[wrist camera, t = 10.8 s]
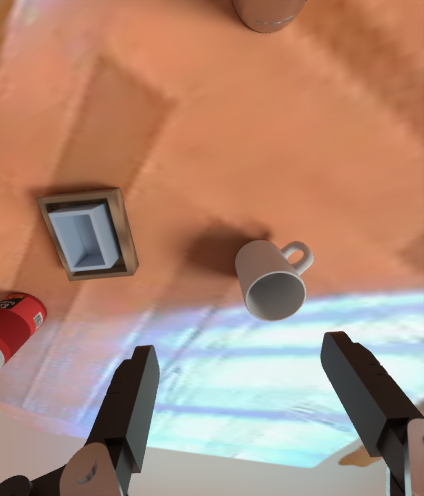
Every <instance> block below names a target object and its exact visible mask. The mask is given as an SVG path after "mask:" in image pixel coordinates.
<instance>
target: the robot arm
mask: <svg viewBox="0 0 424 496" xmlns="http://www.w3.org/2000/svg"><path fill="white" fill-rule="evenodd" d="M306 1H307V0H232V2H233V4H234V7H235V10H236V12H237V13H238V15H239V17H240V19H241V20H242V21H243V22H244V23H245V24H246V25H247V26H248V27H250V28H251V29H253V30H255V31H258V32H261V33H271V32H275V31H278V30H280V29H282V28H284V27H285V26H286V25H288V24H289V23H290V22H291V21H292V20H293V19H294V18H295V16H296V15H297V14H298V13H299V11H300V10H301V8H302V7H303V5H304V4H305V2H306ZM320 357H321V363H322V367H323V369H324V371H325V373H326V375H327V377H328V379H329V380H330V382H331V384H332V386H333V388H334V390H335V392H336V393H337V395H338V397H339V399H340V401H341V403H342V405H343V407H344V408H345V410H346V412H347V414H348V416H349V418H350V420H351V421H352V423H353V425H354V427H355V429H356V431H357V433H358V434H359V436H360V438H361V440H362V442H363V444H364V446H365V448H366V449H367V451H368V453H369V455H370V457H380V456H382V457H383V459H384V460H385V462H386V464H387V470H386V496H424V416H423V415H422V414H421V413H420V412H419V410H418V409H417V408H416V407H415V406H414V404H413V403H412V402H411V401H410V399H409V398H408V397H407V396H406V394H405V393H404V392H403V391H402V390H401V388H400V387H399V386H398V385H397V383H396V382H395V381H394V380H393V379H392V377H391V376H390V375H388V372H387V371H386V370H385V369H384V368H383V366H381V365H380V363H379V361H378V360H377V359H376V358H375V356H374V355H373V354H372V353H371V352H370V351H369V350H368V349H366V348H365V347H364V346H362V345H361V344H359V343H353V342H352V341H351V339H350V338H349V337H348V335H347V334H346V333H345V332H343V331H338V332H326V333H325V334H324V338H323V344H322V350H321V356H320ZM159 375H160V371H159V364H158V360H157V356H156V352H155V348H154V346H153V345H146V346H137V347H136V348H135V350H134V353H133V356H132V358H131V359H127V360H124V361H123V362H122V363H121V364H120V366H119V367H118V368H117V369H116V370H115V373H114V375H113V378H112V380H111V384H110V385H109V388H108V390H107V393H106V396H105V398H104V400H103V403H102V405H101V407H100V410H99V412H98V415H97V417H96V420H95V422H94V425H93V427H92V430H91V432H90V435H89V437H88V439H87V441H86V443H85V445H84V446H83V448H81V449H80V450H79V451H77V452H76V453H75V454H74V455H73V457H72V458H71V459H70V460H69V462H68V463H67V464H65V465H64V466H62V467H61V468H59V469H57V470H54V471H52V472H50V473H48V474H46V475H43V476H41V477H39V478H37V479H35V480H32V481H29V479H28V478H27V477H25V476H22V475H17V476H13V477H11V478H8V479H7V480H5V481H3V482H2V483H0V496H129V493H128V487H129V482H130V478H131V473H141V469H142V464H143V459H144V454H145V449H146V444H147V439H148V434H149V429H150V424H151V419H152V414H153V409H154V404H155V399H156V394H157V388H158V383H159Z"/></svg>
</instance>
